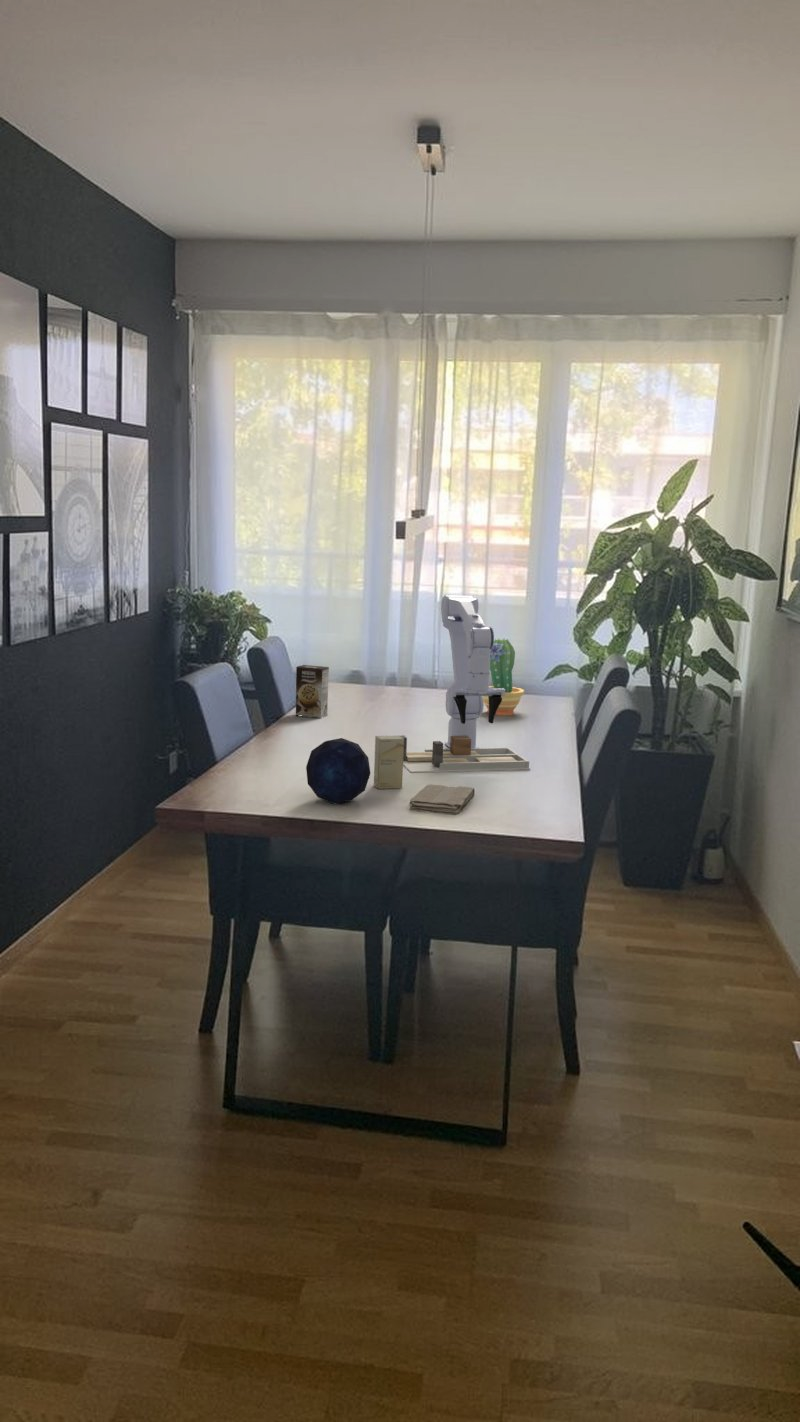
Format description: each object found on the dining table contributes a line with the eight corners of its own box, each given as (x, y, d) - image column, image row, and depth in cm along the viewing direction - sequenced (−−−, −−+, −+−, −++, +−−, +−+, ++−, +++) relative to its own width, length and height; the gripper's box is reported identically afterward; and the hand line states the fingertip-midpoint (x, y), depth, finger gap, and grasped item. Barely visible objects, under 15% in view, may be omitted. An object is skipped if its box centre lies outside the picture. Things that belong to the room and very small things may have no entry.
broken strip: (430, 762, 272) (431, 740, 271) (511, 760, 277) (512, 738, 276) (436, 767, 266) (437, 744, 265) (518, 765, 271) (519, 743, 270)
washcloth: (407, 812, 229) (407, 798, 228) (425, 792, 246) (426, 780, 245) (460, 817, 226) (460, 803, 225) (475, 797, 243) (475, 784, 242)
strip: (395, 756, 278) (395, 734, 277) (474, 754, 283) (475, 732, 282) (400, 761, 272) (400, 739, 271) (481, 759, 277) (482, 737, 276)
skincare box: (377, 789, 246) (378, 739, 243) (373, 784, 250) (374, 735, 248) (403, 788, 247) (404, 738, 245) (398, 783, 251) (399, 734, 249)
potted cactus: (469, 710, 353) (472, 637, 348) (508, 707, 359) (511, 636, 355) (492, 718, 339) (495, 642, 335) (532, 715, 346) (536, 641, 341)
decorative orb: (393, 780, 233) (365, 722, 237) (346, 792, 222) (318, 731, 225) (356, 807, 242) (330, 751, 245) (309, 820, 231) (282, 760, 234)
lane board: (395, 756, 280) (395, 749, 280) (508, 754, 287) (508, 746, 287) (410, 772, 263) (410, 765, 262) (530, 769, 270) (530, 761, 269)
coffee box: (294, 716, 334) (295, 666, 331) (302, 713, 340) (302, 664, 337) (321, 718, 331) (321, 668, 328) (328, 715, 337) (329, 666, 334)
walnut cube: (449, 752, 280) (450, 735, 279) (465, 751, 281) (466, 735, 280) (454, 755, 276) (454, 739, 275) (470, 755, 277) (471, 738, 276)
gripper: (455, 674, 270) (454, 726, 272) (509, 674, 273) (507, 725, 275) (449, 671, 277) (447, 721, 279) (501, 670, 280) (499, 720, 282)
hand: (476, 722), depth 278 cm, fingers open, 7 cm apart
